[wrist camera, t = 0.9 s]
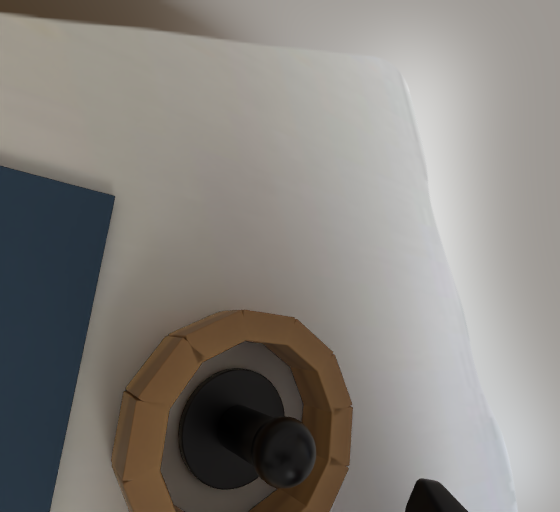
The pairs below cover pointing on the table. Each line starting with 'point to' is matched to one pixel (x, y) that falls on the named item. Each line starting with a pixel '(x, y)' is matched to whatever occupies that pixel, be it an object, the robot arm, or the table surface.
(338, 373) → the hoop
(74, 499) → the table surface
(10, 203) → the mat
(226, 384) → the peg stand
